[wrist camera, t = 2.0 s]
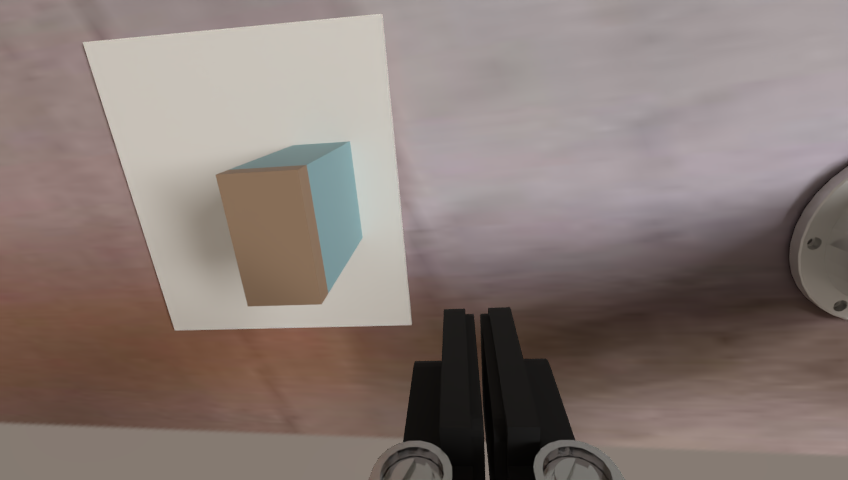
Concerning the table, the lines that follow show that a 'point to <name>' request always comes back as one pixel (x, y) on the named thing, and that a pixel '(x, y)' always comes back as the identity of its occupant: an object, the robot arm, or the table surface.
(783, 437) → the table surface
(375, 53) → the board
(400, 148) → the table surface
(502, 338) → the robot arm
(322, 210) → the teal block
